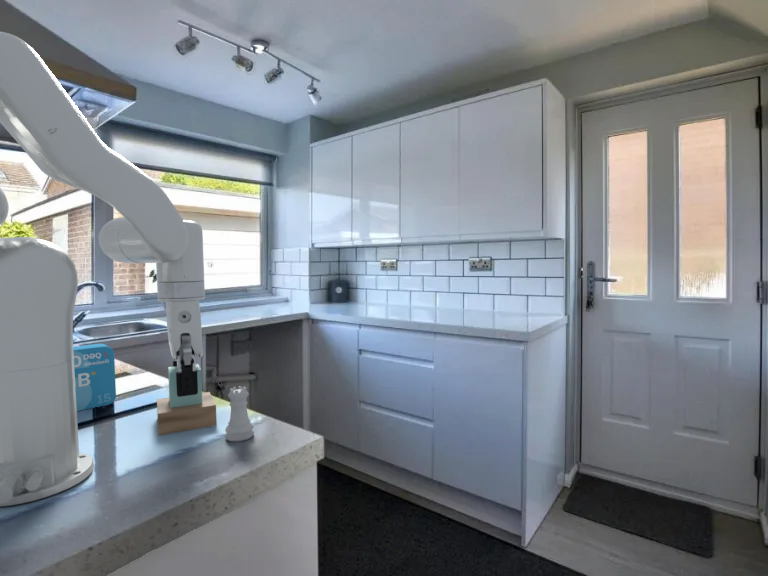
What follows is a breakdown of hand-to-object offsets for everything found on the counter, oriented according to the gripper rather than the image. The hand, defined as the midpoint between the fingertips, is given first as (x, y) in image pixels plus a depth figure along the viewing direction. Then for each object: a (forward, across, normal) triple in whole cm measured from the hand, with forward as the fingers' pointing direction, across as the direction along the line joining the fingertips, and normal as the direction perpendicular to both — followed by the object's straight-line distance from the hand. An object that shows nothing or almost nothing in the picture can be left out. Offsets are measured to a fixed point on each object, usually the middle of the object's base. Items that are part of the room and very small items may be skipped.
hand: (185, 387), depth 78 cm
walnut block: (+7, 0, 0) cm, 7 cm away
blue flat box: (+6, +19, +18) cm, 27 cm away
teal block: (+2, 0, 0) cm, 3 cm away
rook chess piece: (+6, -12, -7) cm, 15 cm away
